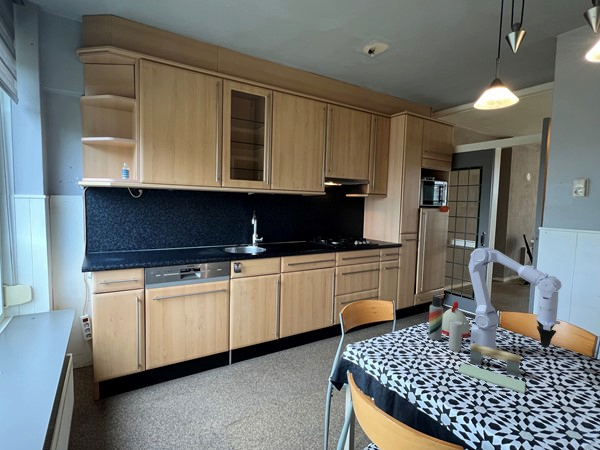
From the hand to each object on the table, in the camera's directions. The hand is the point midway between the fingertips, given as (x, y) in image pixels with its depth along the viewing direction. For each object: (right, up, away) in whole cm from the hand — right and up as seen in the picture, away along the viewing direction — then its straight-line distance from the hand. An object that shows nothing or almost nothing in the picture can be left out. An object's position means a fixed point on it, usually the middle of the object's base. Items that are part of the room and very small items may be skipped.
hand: (544, 342), depth 118 cm
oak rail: (-19, -6, 0) cm, 20 cm away
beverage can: (-27, -9, +14) cm, 32 cm away
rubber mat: (-25, -10, -7) cm, 28 cm away
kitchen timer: (-18, -8, +35) cm, 40 cm away
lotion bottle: (-31, -8, +26) cm, 41 cm away
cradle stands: (-19, -10, 0) cm, 22 cm away
